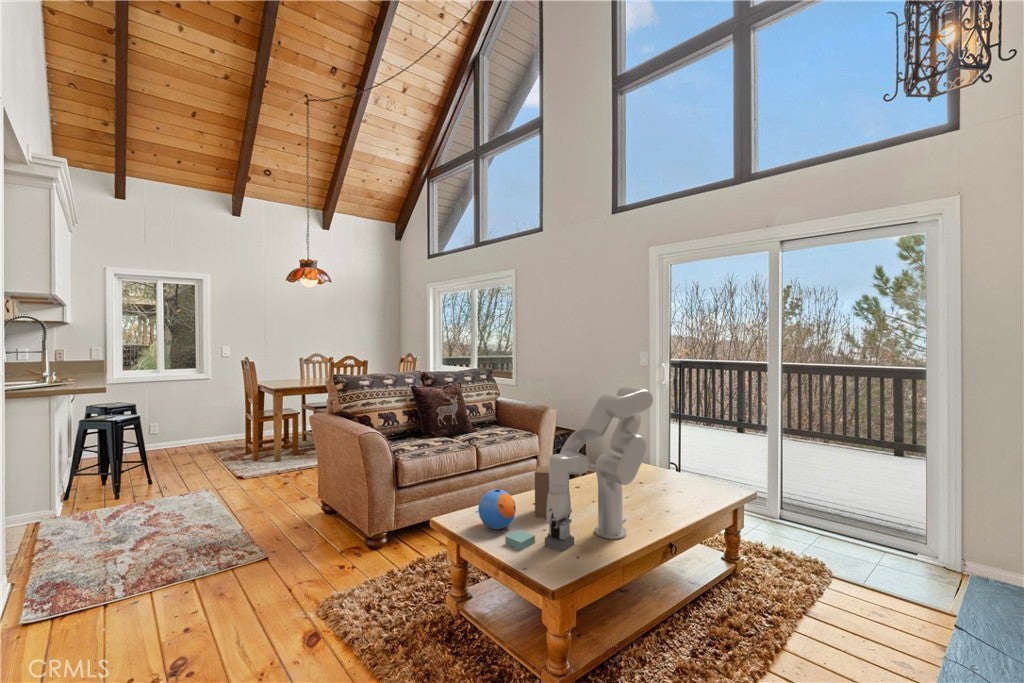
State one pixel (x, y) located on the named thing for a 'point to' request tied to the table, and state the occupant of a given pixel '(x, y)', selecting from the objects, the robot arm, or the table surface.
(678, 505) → the table surface
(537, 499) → the wooden block
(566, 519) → the housing
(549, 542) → the stand
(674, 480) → the table surface
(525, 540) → the stand
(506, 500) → the treat dispenser ball
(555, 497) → the robot arm
